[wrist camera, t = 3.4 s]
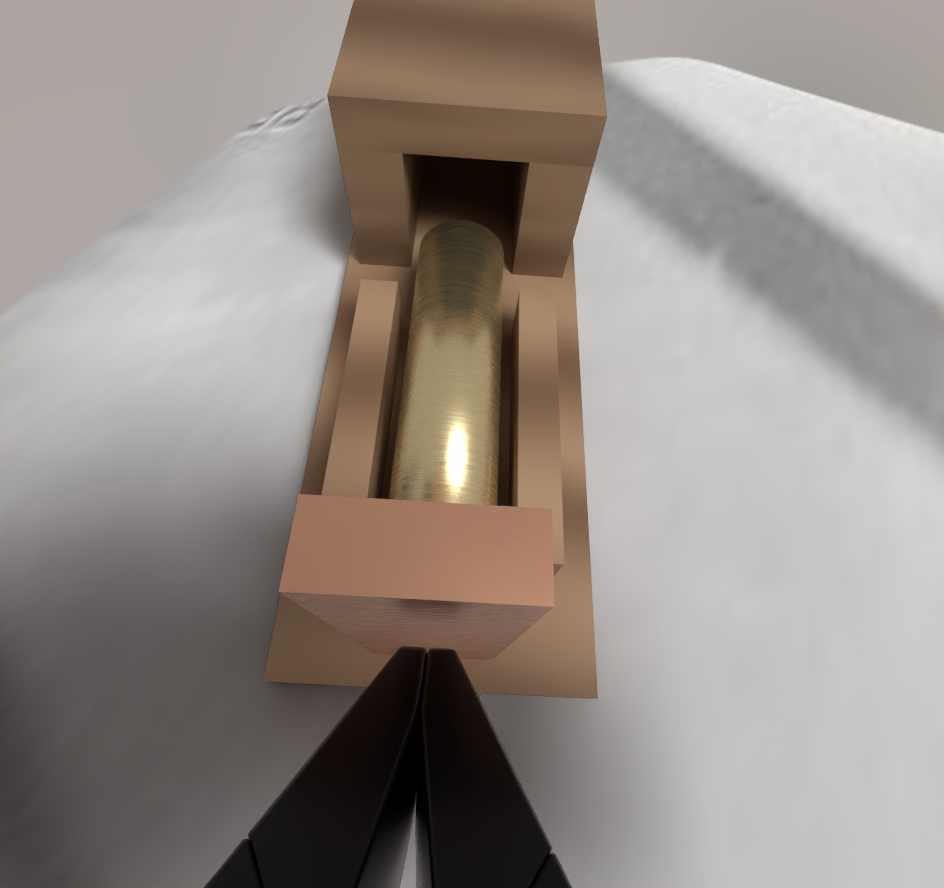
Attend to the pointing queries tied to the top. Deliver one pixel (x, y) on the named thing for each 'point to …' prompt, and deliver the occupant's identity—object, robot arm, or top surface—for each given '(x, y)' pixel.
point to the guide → (524, 287)
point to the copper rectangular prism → (434, 487)
